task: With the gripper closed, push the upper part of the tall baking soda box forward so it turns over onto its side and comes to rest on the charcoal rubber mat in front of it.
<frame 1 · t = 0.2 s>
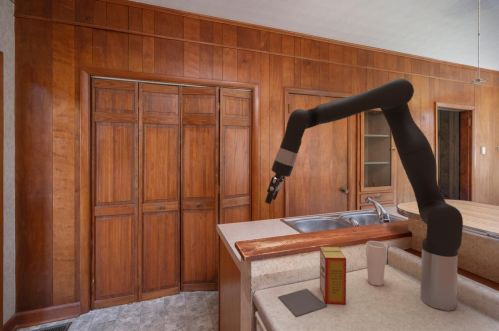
hand: (270, 201, 95), 31 cm above the counter, tool tilted 20°, fingers open, 8 cm apart
pinkish beige cup: (375, 283, 93), on the counter
baking soda box: (332, 296, 85), on the counter
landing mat: (301, 302, 82), on the counter
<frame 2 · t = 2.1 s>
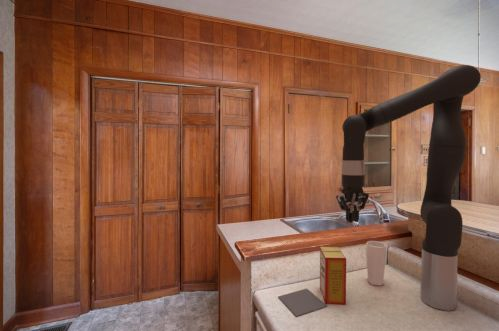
hand: (352, 221, 87), 25 cm above the counter, tool pointing down, fingers closed
nothing on the counter moved.
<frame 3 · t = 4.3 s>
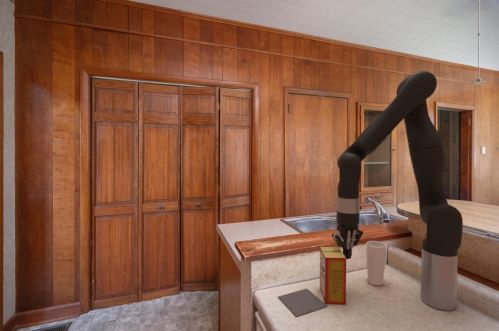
hand: (347, 258, 87), 12 cm above the counter, tool pointing down, fingers closed
baking soda box: (332, 296, 85), on the counter, touching gripper
everything else where it was.
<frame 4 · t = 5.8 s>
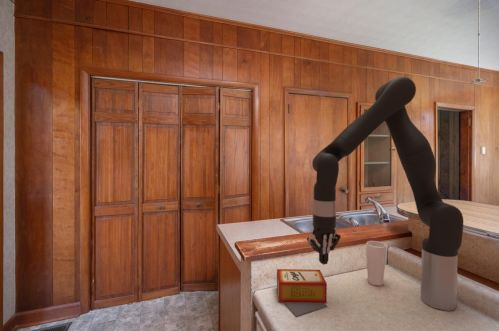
hand: (323, 263, 83), 12 cm above the counter, tool pointing down, fingers closed
baking soda box: (323, 285, 85), point 4 cm above the counter, touching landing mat
everything else where it was.
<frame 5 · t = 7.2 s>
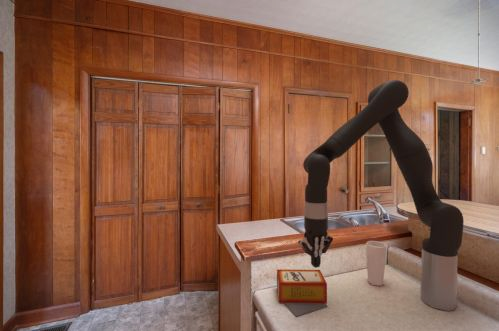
hand: (315, 266, 82), 12 cm above the counter, tool pointing down, fingers closed
nothing on the counter moved.
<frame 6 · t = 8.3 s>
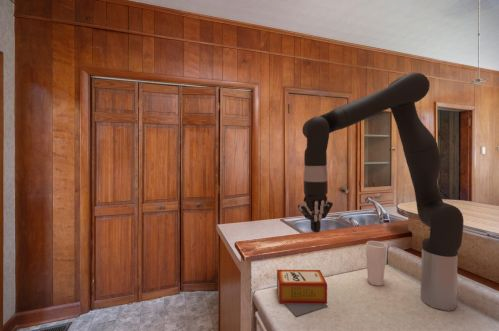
hand: (315, 231, 81), 24 cm above the counter, tool pointing down, fingers closed
nothing on the counter moved.
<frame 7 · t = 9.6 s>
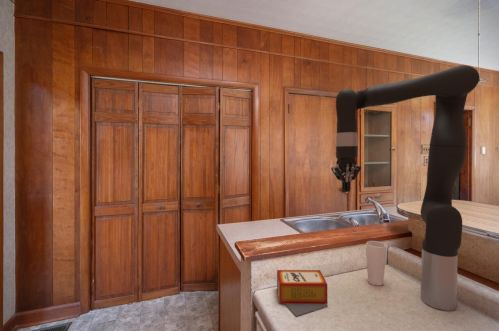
hand: (346, 191, 92), 35 cm above the counter, tool pointing down, fingers closed
nothing on the counter moved.
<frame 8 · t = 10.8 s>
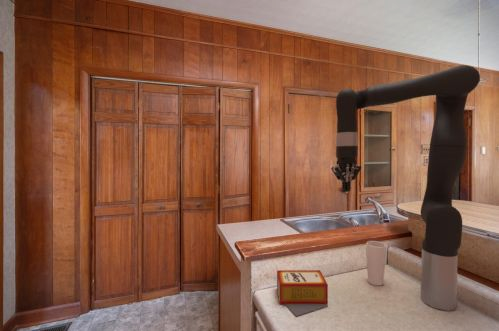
hand: (346, 191, 92), 35 cm above the counter, tool pointing down, fingers closed
nothing on the counter moved.
at the end: baking soda box tilted 90°; baking soda box touching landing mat; baking soda box inside the target area (5.5 cm from its centre), point 3.6 cm above the counter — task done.
